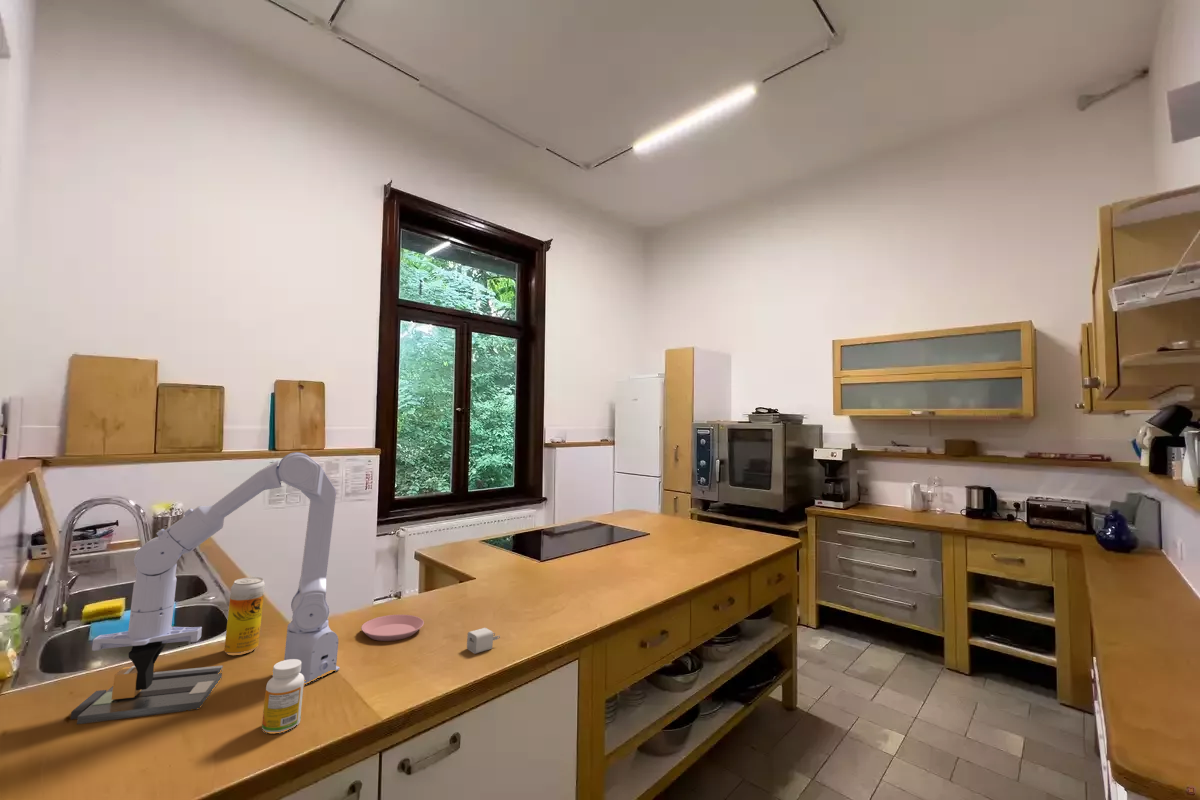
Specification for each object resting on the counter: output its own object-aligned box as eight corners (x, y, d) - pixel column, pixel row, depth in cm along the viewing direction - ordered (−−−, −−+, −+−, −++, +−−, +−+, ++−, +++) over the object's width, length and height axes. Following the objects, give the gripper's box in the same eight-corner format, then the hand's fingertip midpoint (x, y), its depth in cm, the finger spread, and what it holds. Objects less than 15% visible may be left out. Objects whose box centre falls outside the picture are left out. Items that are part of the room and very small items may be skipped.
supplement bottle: (273, 716, 83) (279, 656, 84) (306, 716, 84) (312, 657, 85) (254, 735, 78) (260, 671, 79) (289, 735, 79) (296, 671, 79)
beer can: (240, 658, 104) (248, 585, 105) (216, 655, 105) (224, 582, 106) (265, 647, 110) (272, 578, 111) (242, 644, 111) (249, 575, 112)
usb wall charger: (466, 649, 114) (467, 631, 114) (492, 641, 119) (493, 624, 119) (475, 654, 111) (477, 636, 112) (501, 646, 116) (502, 629, 117)
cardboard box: (142, 688, 87) (145, 664, 88) (134, 697, 85) (137, 672, 85) (120, 691, 86) (123, 666, 87) (111, 699, 84) (114, 674, 84)
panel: (221, 679, 95) (222, 672, 95) (199, 709, 85) (200, 701, 85) (113, 691, 89) (114, 683, 89) (76, 724, 79) (77, 715, 79)
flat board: (222, 670, 98) (223, 664, 98) (196, 704, 86) (197, 696, 86) (114, 681, 92) (115, 674, 92) (70, 719, 80) (71, 711, 80)
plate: (435, 629, 125) (436, 621, 125) (391, 649, 112) (391, 640, 112) (393, 618, 131) (394, 611, 131) (346, 636, 118) (347, 627, 118)
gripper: (85, 618, 81) (74, 705, 80) (194, 610, 86) (185, 692, 85) (109, 604, 88) (99, 684, 86) (208, 598, 93) (200, 673, 92)
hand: (143, 687), depth 86 cm, fingers closed, pressing on cardboard box
